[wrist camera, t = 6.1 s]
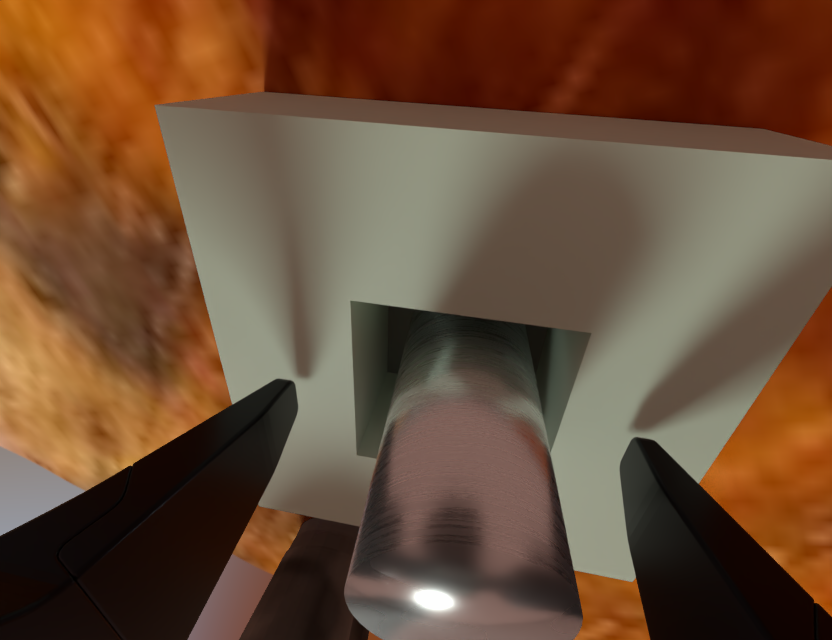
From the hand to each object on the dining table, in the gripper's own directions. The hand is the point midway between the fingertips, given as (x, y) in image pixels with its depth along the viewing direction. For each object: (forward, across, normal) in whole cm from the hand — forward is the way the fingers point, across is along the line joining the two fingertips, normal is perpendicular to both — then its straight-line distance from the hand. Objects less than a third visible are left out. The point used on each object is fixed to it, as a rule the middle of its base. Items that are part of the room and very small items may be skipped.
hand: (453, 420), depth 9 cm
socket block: (+4, 0, 0) cm, 4 cm away
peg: (+4, 0, 0) cm, 4 cm away
